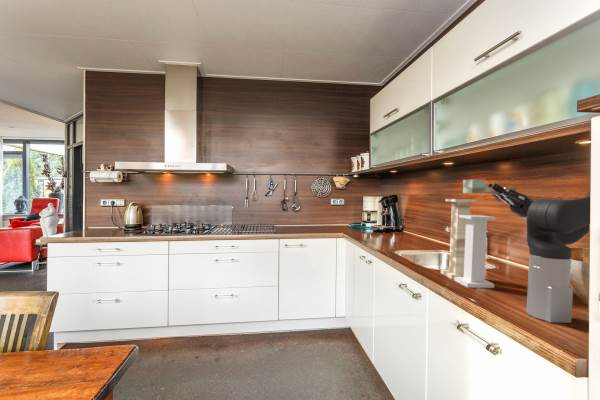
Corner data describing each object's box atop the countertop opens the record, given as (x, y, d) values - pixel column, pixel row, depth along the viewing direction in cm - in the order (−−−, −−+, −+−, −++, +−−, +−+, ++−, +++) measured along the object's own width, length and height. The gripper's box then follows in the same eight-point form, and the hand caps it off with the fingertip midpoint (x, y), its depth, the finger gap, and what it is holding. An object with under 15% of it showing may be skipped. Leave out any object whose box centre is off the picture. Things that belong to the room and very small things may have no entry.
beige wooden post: (476, 279, 125) (479, 200, 124) (451, 279, 124) (455, 199, 123) (463, 273, 134) (466, 199, 133) (440, 273, 133) (443, 198, 132)
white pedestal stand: (494, 288, 114) (497, 217, 113) (467, 287, 113) (470, 216, 113) (479, 281, 123) (482, 215, 122) (454, 280, 122) (457, 214, 122)
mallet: (519, 194, 115) (520, 180, 114) (472, 193, 114) (472, 179, 114) (508, 193, 121) (508, 181, 120) (462, 193, 120) (463, 180, 120)
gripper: (537, 219, 111) (497, 194, 110) (510, 216, 125) (474, 193, 124) (548, 201, 111) (508, 176, 110) (519, 200, 125) (484, 177, 124)
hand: (490, 185), depth 117 cm, fingers closed on mallet, 2 cm apart
